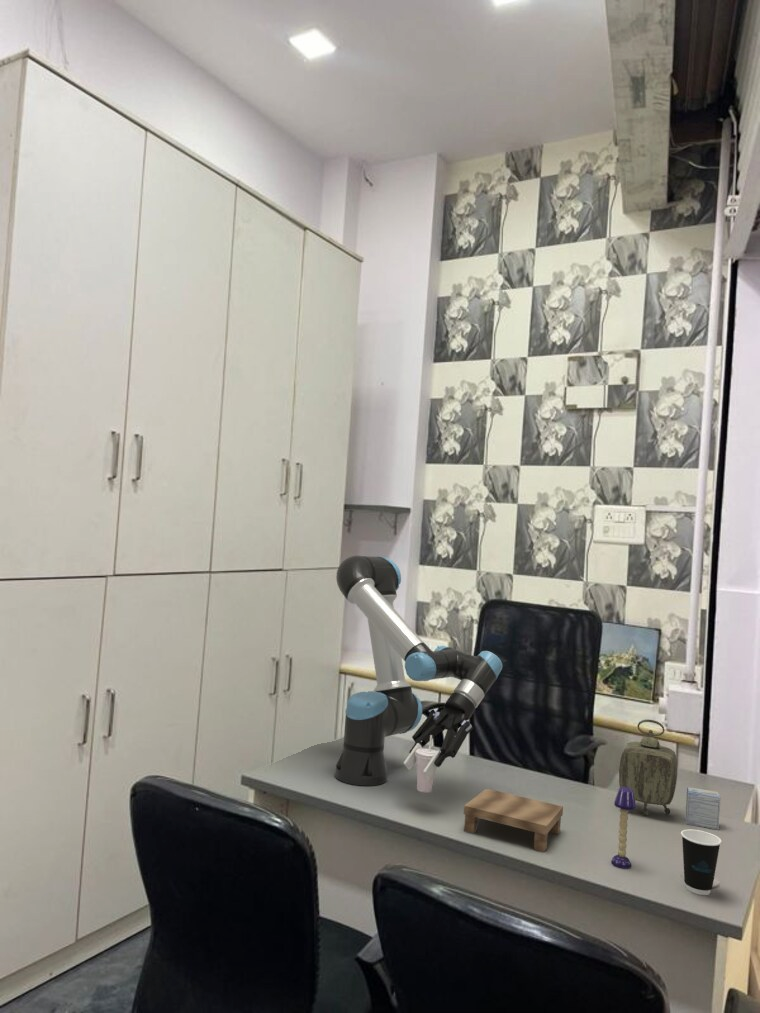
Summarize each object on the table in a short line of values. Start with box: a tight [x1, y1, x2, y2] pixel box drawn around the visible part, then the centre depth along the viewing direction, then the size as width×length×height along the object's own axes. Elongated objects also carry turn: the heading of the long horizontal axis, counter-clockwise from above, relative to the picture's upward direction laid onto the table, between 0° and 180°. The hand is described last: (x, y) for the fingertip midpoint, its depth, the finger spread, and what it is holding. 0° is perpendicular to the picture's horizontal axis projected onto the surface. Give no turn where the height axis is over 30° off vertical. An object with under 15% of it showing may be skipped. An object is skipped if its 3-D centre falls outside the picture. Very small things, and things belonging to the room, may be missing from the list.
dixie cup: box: [680, 828, 723, 896], centre depth 157 cm, size 8×8×11 cm
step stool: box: [463, 788, 564, 853], centre depth 181 cm, size 20×16×6 cm
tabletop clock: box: [618, 719, 678, 817], centre depth 202 cm, size 14×9×25 cm, turn 65°
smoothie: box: [415, 735, 437, 793], centre depth 191 cm, size 6×6×14 cm
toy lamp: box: [610, 786, 637, 869], centre depth 167 cm, size 5×5×17 cm
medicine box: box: [685, 786, 721, 830], centre depth 197 cm, size 8×4×9 cm, turn 71°
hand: (416, 770), depth 189 cm, fingers closed on smoothie, 6 cm apart
